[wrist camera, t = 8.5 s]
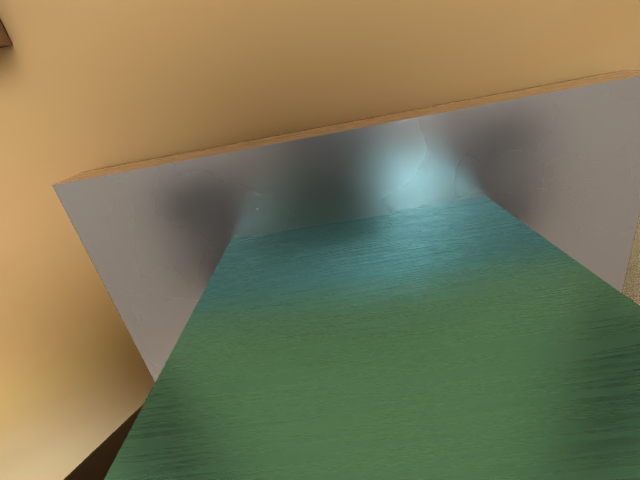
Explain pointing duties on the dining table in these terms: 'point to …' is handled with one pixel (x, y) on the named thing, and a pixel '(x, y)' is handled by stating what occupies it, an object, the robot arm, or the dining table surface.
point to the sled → (385, 294)
